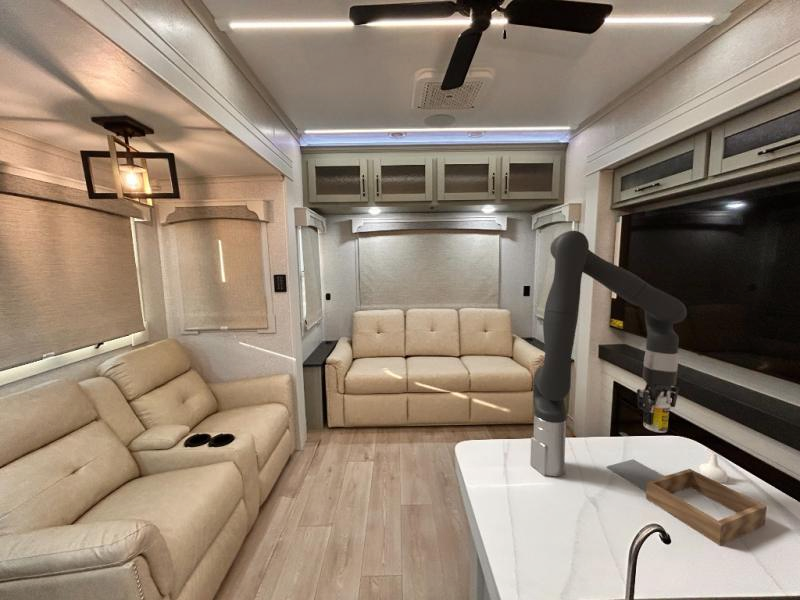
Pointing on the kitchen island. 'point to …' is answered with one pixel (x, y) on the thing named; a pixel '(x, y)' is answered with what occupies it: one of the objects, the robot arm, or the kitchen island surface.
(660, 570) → the kitchen island surface
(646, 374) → the robot arm
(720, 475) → the garlic bulb
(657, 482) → the crate frame
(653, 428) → the supplement bottle
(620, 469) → the mat
